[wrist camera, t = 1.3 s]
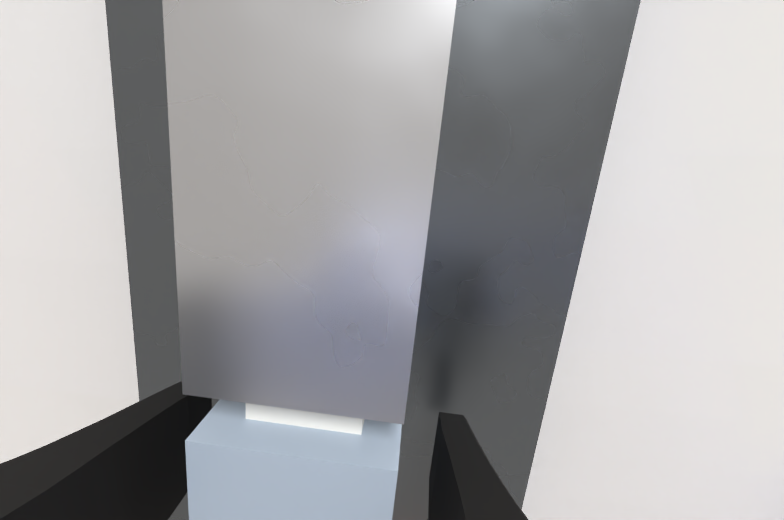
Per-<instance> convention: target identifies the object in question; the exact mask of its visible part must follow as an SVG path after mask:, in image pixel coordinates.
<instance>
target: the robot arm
mask: <svg viewBox="0 0 784 520" xmlns="http://www.w3.org/2000/svg"><path fill="white" fill-rule="evenodd" d="M211 409H212V398H206V397H199V396H191V395H184V394H183V393H182V381H181V382H178V383H176V384H174V385H172V386H170V387H168V388H166V389H164V390H162V391H159V392H157V393H155V394H153V395H151V396H149V397H147V398H145V399H143V400H141V401H139V402H137V403H135V404H133V405H131V406H129V407H127V408H125V409H123V410H121V411H119V412H117V413H115V414H113V415H111V416H109V417H107V418H105V419H103V420H101V421H98V422H96V423H94V424H92V425H90V426H87V427H85V428H83V429H81V430H79V431H76V432H74V433H72V434H70V435H68V436H66V437H63V438H61V439H59V440H57V441H55V442H52V443H50V444H48V445H46V446H43V447H41V448H39V449H36V450H34V451H31V452H29V453H27V454H24V455H22V456H19V457H17V458H14V459H12V460H9V461H7V462H4V463H1V464H0V520H168V519H169V518H170V516H171V515H172V513H173V512H174V511H175V509H176V508H177V506H178V505H179V503H180V502H181V501H182V499H183V498H184V496H185V495H186V493H187V492H188V490H187V471H186V452H185V440H186V439H187V438H188V437H189V435H190V434H191V433H192V432H193V431H194V429H195V428H196V427H197V426H198V425H199V424H200V422H201V421H202V420H203V419H204V418H205V416H206V415H207V414H208V413H209V412H210V410H211ZM428 520H528V519H527V517H526V516H525V514H524V513H523V512H522V510H521V509H520V507H519V506H518V505H517V503H516V502H515V500H514V499H513V497H512V496H511V494H510V493H509V491H508V490H507V488H506V487H505V485H504V484H503V482H502V481H501V479H500V477H499V476H498V474H497V473H496V471H495V469H494V468H493V466H492V465H491V463H490V461H489V460H488V458H487V456H486V455H485V453H484V451H483V449H482V447H481V446H480V444H479V442H478V440H477V439H476V437H475V435H474V433H473V431H472V429H471V427H470V425H469V423H468V421H467V419H466V418H465V417H464V415H459V414H452V413H444V412H439V415H438V422H437V429H436V435H435V442H434V449H433V455H432V462H431V468H430V475H429V506H428Z"/></svg>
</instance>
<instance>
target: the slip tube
mask: <svg viewBox="0 0 784 520" xmlns="http://www.w3.org/2000/svg"><path fill="white" fill-rule="evenodd" d="M401 429H402V424H396V423H389V422H382V421H374V420H367V419H360V418H352V417H345V416H338V415H330V414H323V413H316V412H308V411H301V410H294V409H286V408H279V407H272V406H264V405H257V404H250V403H243V402H235V401H228V400H221V399H220V400H219V401H218V402H217V403H216V404H215V406H214V407H213V408H212V409H211V410H210V412H209V413H208V414H207V415H206V416H205V418H204V419H203V420H202V421H201V422H200V424H199V425H198V426H197V427H196V428H195V429H194V431H193V432H192V433H191V434H190V435H189V437H188V438H187V439H186V440H185V452H186V471H187V490H188V510H189V520H392V516H393V508H394V500H395V492H396V484H397V476H398V466H399V454H400V441H401Z"/></svg>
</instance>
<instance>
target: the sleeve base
mask: <svg viewBox="0 0 784 520" xmlns="http://www.w3.org/2000/svg"><path fill="white" fill-rule="evenodd" d="M105 3H106V15H107V26H108V38H109V50H110V61H111V73H112V85H113V97H114V108H115V120H116V132H117V143H118V155H119V167H120V178H121V190H122V202H123V214H124V225H125V237H126V249H127V260H128V272H129V284H130V295H131V307H132V319H133V331H134V342H135V354H136V366H137V377H138V389H139V401H141V400H143V399H145V398H147V397H149V396H151V395H153V394H155V393H157V392H159V391H162V390H164V389H166V388H168V387H170V386H172V385H174V384H176V383H178V382H181V381H182V393H183V394H184V395H191V396H199V397H206V398H212V408H213V407H214V406H215V404H216V403H217V402H218V401H219V400H220V399H221V400H228V401H235V402H243V403H250V404H257V405H264V406H272V407H279V408H286V409H294V410H301V411H308V412H316V413H323V414H330V415H338V416H345V417H352V418H360V419H367V420H374V421H382V422H389V423H396V424H402V429H401V441H400V454H399V466H398V476H397V484H396V492H395V500H394V508H393V516H392V520H428V506H429V475H430V468H431V462H432V455H433V449H434V442H435V435H436V429H437V422H438V415H439V412H444V413H452V414H459V415H464V417H465V418H466V419H467V421H468V423H469V425H470V427H471V429H472V431H473V433H474V435H475V437H476V439H477V440H478V442H479V444H480V446H481V447H482V449H483V451H484V453H485V455H486V456H487V458H488V460H489V461H490V463H491V465H492V466H493V468H494V469H495V471H496V473H497V474H498V476H499V477H500V479H501V481H502V482H503V484H504V485H505V487H506V488H507V490H508V491H509V493H510V494H511V496H512V497H513V499H514V500H515V502H516V503H517V505H518V506H519V507H520V509H522V505H523V500H524V496H525V492H526V487H527V483H528V479H529V475H530V470H531V466H532V462H533V458H534V453H535V449H536V445H537V440H538V436H539V432H540V428H541V423H542V419H543V415H544V411H545V406H546V402H547V398H548V393H549V389H550V385H551V381H552V376H553V372H554V368H555V364H556V359H557V355H558V351H559V346H560V342H561V338H562V334H563V329H564V325H565V321H566V317H567V312H568V308H569V304H570V299H571V295H572V291H573V287H574V282H575V278H576V274H577V270H578V265H579V261H580V257H581V252H582V248H583V244H584V240H585V235H586V231H587V227H588V223H589V218H590V214H591V210H592V205H593V201H594V197H595V193H596V188H597V184H598V180H599V176H600V171H601V167H602V163H603V158H604V154H605V150H606V146H607V141H608V137H609V133H610V129H611V124H612V120H613V116H614V111H615V107H616V103H617V99H618V94H619V90H620V86H621V81H622V77H623V73H624V69H625V64H626V60H627V56H628V52H629V47H630V43H631V39H632V34H633V30H634V26H635V22H636V17H637V13H638V9H639V5H640V0H105ZM168 520H189V510H188V492H187V493H186V495H185V496H184V498H183V499H182V501H181V502H180V503H179V505H178V506H177V508H176V509H175V511H174V512H173V513H172V515H171V516H170V518H169V519H168Z"/></svg>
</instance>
